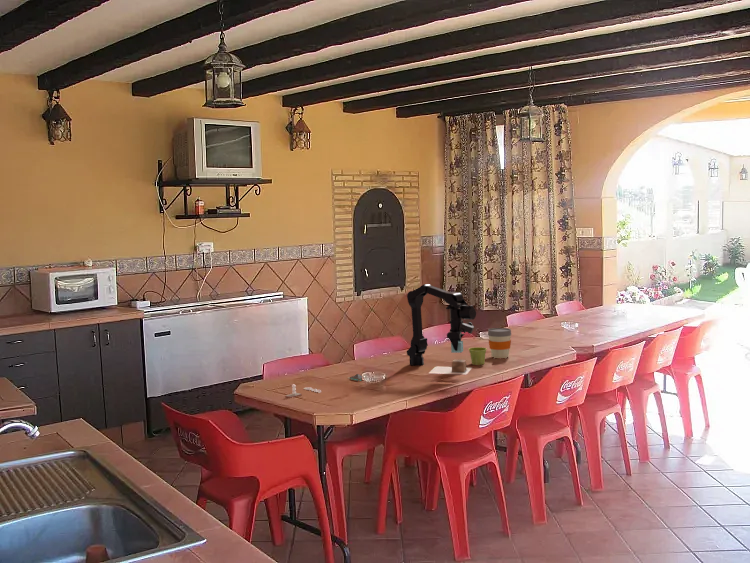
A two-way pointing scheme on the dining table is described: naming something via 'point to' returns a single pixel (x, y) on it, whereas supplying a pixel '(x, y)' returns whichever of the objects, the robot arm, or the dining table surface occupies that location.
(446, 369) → the board
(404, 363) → the dining table surface
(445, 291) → the robot arm
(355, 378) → the game pieces
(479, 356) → the plant pot
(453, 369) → the walnut block
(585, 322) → the dining table surface
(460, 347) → the teal cube
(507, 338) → the reusable coffee cup
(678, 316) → the dining table surface
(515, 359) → the dining table surface
